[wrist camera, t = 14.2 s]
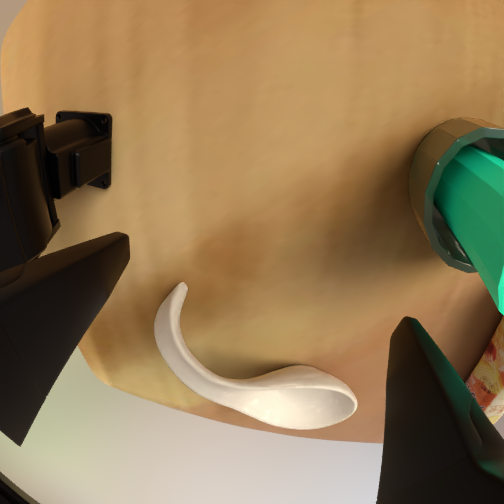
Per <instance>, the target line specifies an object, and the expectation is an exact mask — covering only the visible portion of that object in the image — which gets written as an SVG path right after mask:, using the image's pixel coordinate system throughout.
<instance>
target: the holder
mask: <svg viewBox="0 0 504 504" xmlns="http://www.w3.org/2000/svg"><path fill="white" fill-rule="evenodd" d="M466 145H468V146H473V147H478V148H483V149H484V150H486V151H488V152H490V153H491V154H493V155H495V156H497V157H498V158H500V159H502V160H503V161H504V128H503V127H500V126H497V125H495V124H492V123H490V122H487V121H484V120H480V119H473V118H457V119H452V120H449V121H446V122H444V123H442V124H441V125H439V126H437V127H436V128H435V129H433V130H432V131H431V132H430V133H429V134H428V135H427V136H426V137H425V138H424V140H423V141H422V142H421V144H420V145H419V147H418V149H417V151H416V153H415V155H414V158H413V160H412V164H411V167H410V172H409V181H408V189H409V197H410V203H411V206H412V209H413V211H414V213H415V216H416V218H417V221H418V223H419V225H420V227H421V229H422V231H423V232H424V234H425V236H426V238H427V240H428V242H429V244H430V246H431V248H432V249H433V250H434V251H435V252H436V253H437V255H438V256H439V257H440V258H441V259H442V260H443V261H444V262H445V263H446V264H447V265H448V266H450V267H453V268H456V269H459V270H461V271H464V272H467V273H473V272H478V271H477V270H476V268H475V266H474V265H473V263H472V261H471V260H470V258H469V256H468V255H467V253H466V252H465V250H464V248H463V247H462V245H461V244H460V242H459V241H458V239H457V238H456V236H455V235H454V233H453V232H452V230H451V229H450V227H449V226H448V224H447V223H446V222H445V220H444V219H443V217H442V216H441V215H440V213H439V212H438V209H437V206H436V203H435V201H434V192H435V190H436V187H437V185H438V182H439V180H440V177H441V175H442V172H443V170H444V167H445V166H446V165H447V164H448V163H449V162H450V161H451V159H452V158H453V157H454V156H455V155H456V154H457V153H458V152H459V150H460V149H461V148H462V147H464V146H466Z"/></svg>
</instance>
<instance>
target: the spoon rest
mask: <svg viewBox="0 0 504 504" xmlns="http://www.w3.org/2000/svg"><path fill="white" fill-rule="evenodd" d="M187 291H188V288H187V285H186V284H185V283H184V282H181V283H179V284H178V285H177V286H176V287H175V288H174V289H173V291H172V292H171V293H170V294H169V295H168V296H167V298H166V299H165V300H164V301H163V303H162V304H161V305H160V307H159V309H158V312H157V314H156V318H155V322H154V334H155V340H156V343H157V346H158V349H159V351H160V353H161V355H162V357H163V359H164V360H165V362H166V363H167V365H168V366H169V368H170V369H171V370H172V372H173V373H174V374H175V375H176V376H177V377H178V378H179V379H180V380H181V381H182V382H183V383H184V384H185V385H186V386H187V387H188V388H190V389H191V390H192V391H194V392H195V393H197V394H198V395H200V396H202V397H204V398H206V399H208V400H211V401H213V402H216V403H218V404H221V405H224V406H227V407H230V408H232V409H235V410H237V411H239V412H242V413H244V414H246V415H248V416H250V417H253V418H255V419H257V420H259V421H262V422H264V423H267V424H270V425H274V426H277V427H283V428H288V429H300V430H307V429H317V428H323V427H327V426H330V425H333V424H336V423H339V422H341V421H343V420H345V419H347V418H348V417H350V416H351V415H352V414H353V413H354V412H355V411H356V409H357V399H356V397H355V395H354V394H353V392H352V391H351V389H350V388H349V387H348V386H347V385H346V384H345V383H344V382H342V381H341V380H339V379H338V378H336V377H334V376H332V375H330V374H328V373H325V372H323V371H321V370H319V369H317V368H314V367H311V366H305V365H294V366H289V367H285V368H283V369H279V370H276V371H273V372H270V373H267V374H264V375H261V376H258V377H254V378H249V379H229V378H224V377H221V376H219V375H216V374H214V373H213V372H211V371H210V370H208V369H207V368H205V367H204V366H203V365H202V364H201V363H200V362H199V361H198V360H197V359H196V358H195V357H194V356H193V355H192V353H191V352H190V350H189V349H188V347H187V346H186V344H185V342H184V339H183V337H182V333H181V330H180V313H181V309H182V306H183V303H184V300H185V297H186V294H187Z"/></svg>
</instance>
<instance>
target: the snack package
mask: <svg viewBox="0 0 504 504" xmlns="http://www.w3.org/2000/svg"><path fill="white" fill-rule="evenodd" d="M465 385H466V386H467V388H468V389H469V391H470V392H471V393H472V395H473V397H474V398H475V399H476V401H477V402H478V404H479V405H480V407H481V408H482V410H483V411H484V413H485V414H486V416H487V417H488V419H489V420H490V421H491V423H492V424H493V425H494V424H495V423H496V421H497V420H498V419H499V418H500V417H501V416H502V415H503V414H504V315H503V317H502V319H501V322H500V324H499V325H498V327H497V329H496V331H495V333H494V335H493V337H492V339H491V341H490V343H489V345H488V347H487V349H486V350H485V352H484V354H483V356H482V357H481V359H480V361H479V362H478V364H477V366H476V367H475V369H474V370H473V372H472V373H471V375H470V376H469V378H468V380H467V381H466V383H465Z"/></svg>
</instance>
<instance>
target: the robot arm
mask: <svg viewBox="0 0 504 504" xmlns="http://www.w3.org/2000/svg"><path fill="white" fill-rule="evenodd" d="M105 118H106V119H107V122H106V121H105ZM43 122H44V114H43V115H36V114H33V113H32V112H31V111H30V109H29V108H28V107H27V108H23V109H20V110H17V111H13V112H10V113H8V114H5V115H2V116H0V431H1V432H3V433H4V434H5V435H6V436H7V437H9V438H10V439H11V440H12V441H13V442H15V443H16V444H17V445H18V446H21V445H22V443H23V441H24V439H25V437H26V435H27V433H28V431H29V429H30V427H31V425H32V423H33V421H34V419H35V418H36V416H37V414H38V412H39V410H40V408H41V406H42V404H43V403H44V401H45V399H46V396H47V395H48V393H49V392H50V390H51V388H52V386H53V385H54V383H55V381H56V379H57V378H58V376H59V374H60V373H61V371H62V369H63V367H64V366H65V364H66V363H67V361H68V359H69V358H70V356H71V354H72V353H73V351H74V349H75V348H76V346H77V345H78V343H79V342H80V340H81V339H82V337H83V335H84V334H85V332H86V331H87V329H88V328H89V326H90V325H91V323H92V322H93V320H94V319H95V317H96V316H97V314H98V313H99V311H100V310H101V308H102V307H103V305H104V304H105V302H106V301H107V299H108V298H109V296H110V294H111V293H112V291H113V289H114V287H115V285H116V284H117V282H118V280H119V278H120V276H121V275H122V273H123V271H124V269H125V268H126V266H127V264H128V262H129V259H130V245H129V237H128V235H127V234H124V233H121V232H114V233H111V234H108V235H104V236H101V237H98V238H95V239H92V240H89V241H86V242H83V243H80V244H77V245H74V246H71V247H68V248H65V249H62V250H59V251H56V252H53V253H51V254H48V255H45V256H42V257H39V256H40V254H41V253H42V252H43V251H44V250H45V248H46V247H47V244H48V243H49V241H50V240H51V239H52V237H53V236H54V234H55V233H56V232H57V230H58V229H59V228H60V226H61V225H60V221H59V219H58V217H57V213H56V208H55V203H54V201H55V200H56V199H61V198H63V197H64V196H66V195H67V194H69V193H71V192H72V191H74V190H75V189H77V188H81V187H82V186H84V185H86V184H87V185H91V186H95V187H99V188H103V189H106V188H108V187H109V186H110V185H111V135H112V117H111V115H110V114H108V113H96V112H81V111H59V112H57V114H56V124H54V125H51V126H48V127H45V128H44V125H43ZM104 181H105V182H106V184H105V182H104ZM38 257H39V258H38ZM0 504H40V503H38V502H37V501H36V500H34V499H33V498H32V497H30V496H29V495H28V494H26V493H25V492H24V491H23V490H21V489H20V488H19V487H17V486H16V485H15V484H14V483H13V482H12V481H10V480H9V479H8V478H7V477H6V476H5V475H3V474H2V473H1V472H0ZM376 504H504V439H503V438H502V436H501V435H500V434H499V432H498V431H497V430H496V428H495V427H494V426H493V424H492V423H491V421H490V420H489V419H488V417H487V416H486V414H485V413H484V411H483V410H482V408H481V407H480V405H479V404H478V402H477V401H476V399H475V398H474V397H473V395H472V393H471V392H470V391H469V389H468V388H467V386H466V385H465V383H464V382H463V380H462V379H461V378H460V376H459V375H458V373H457V372H456V371H455V369H454V368H453V366H452V365H451V364H450V362H449V361H448V360H447V358H446V357H445V355H444V354H443V353H442V351H441V350H440V349H439V347H438V346H437V345H436V343H435V342H434V341H433V340H432V338H431V337H430V336H429V334H428V333H427V332H426V330H425V329H424V328H423V327H422V325H421V324H420V323H419V322H418V320H417V319H415V318H411V317H408V316H406V317H404V318H403V319H402V320H401V322H400V323H399V325H398V326H397V327H396V329H395V330H394V332H393V333H392V335H391V339H390V349H389V360H388V369H387V380H386V410H385V429H384V443H383V455H382V465H381V474H380V481H379V489H378V496H377V501H376Z"/></svg>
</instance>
